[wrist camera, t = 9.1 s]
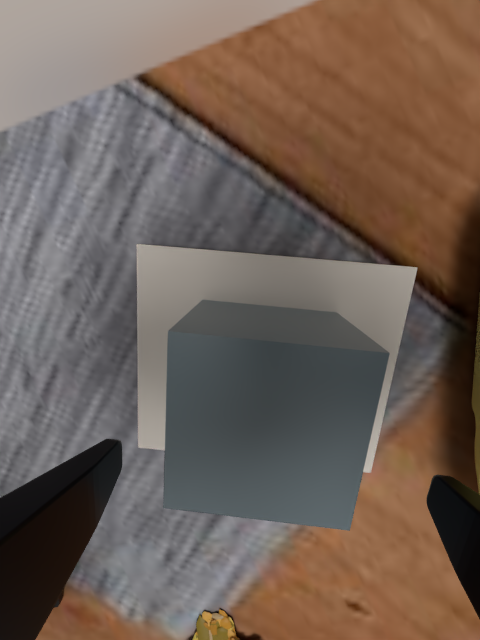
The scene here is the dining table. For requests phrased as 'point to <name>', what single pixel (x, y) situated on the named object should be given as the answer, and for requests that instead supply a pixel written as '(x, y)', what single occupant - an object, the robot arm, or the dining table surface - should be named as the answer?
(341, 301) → the base plate
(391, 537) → the dining table surface
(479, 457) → the plastic component
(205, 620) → the green and yellow piece
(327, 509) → the slate grey cube
